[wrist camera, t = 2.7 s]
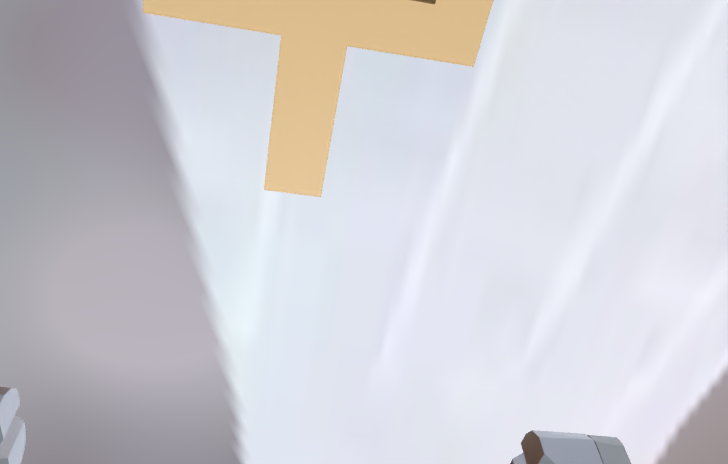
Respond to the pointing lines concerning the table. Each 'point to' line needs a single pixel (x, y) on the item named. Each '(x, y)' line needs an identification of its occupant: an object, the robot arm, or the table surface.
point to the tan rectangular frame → (332, 60)
